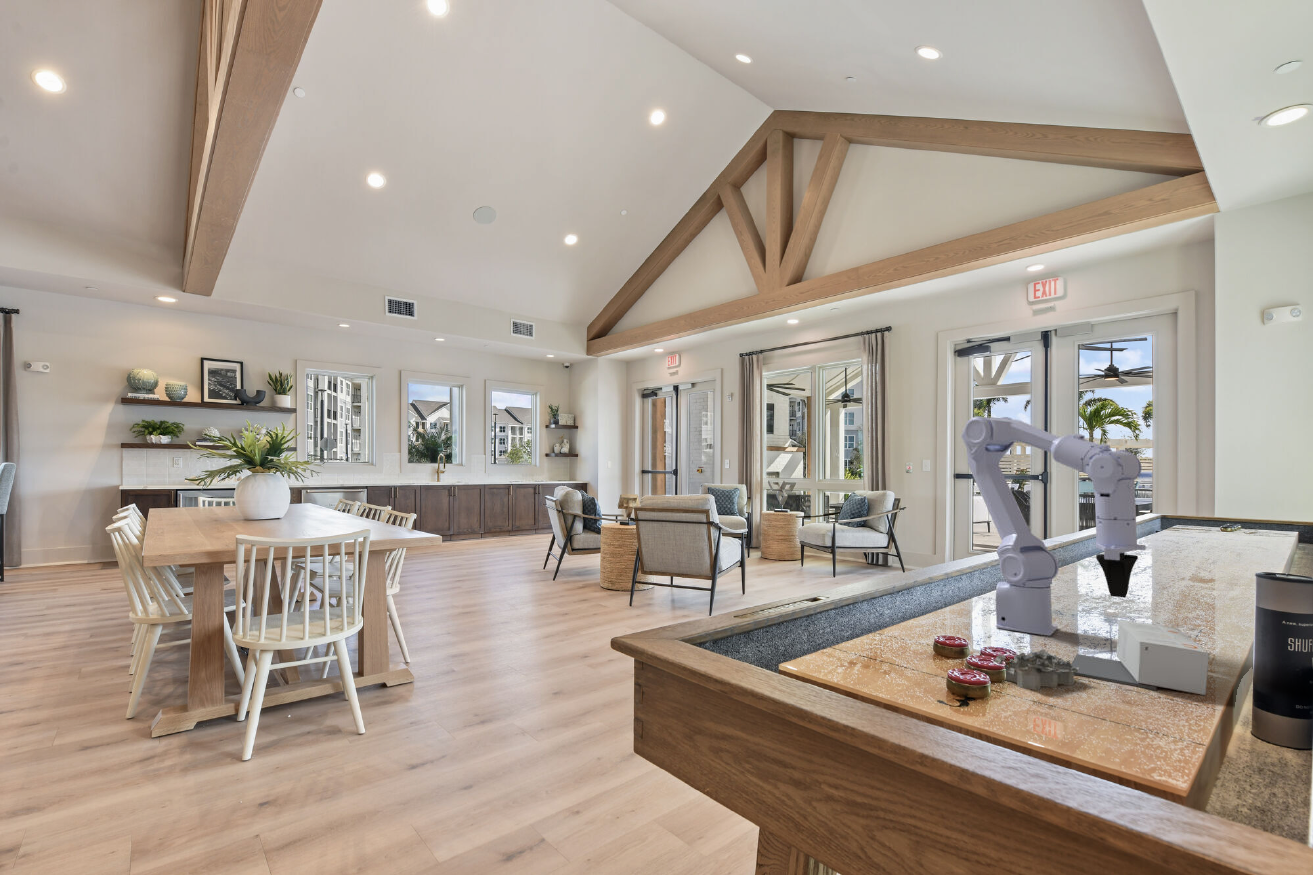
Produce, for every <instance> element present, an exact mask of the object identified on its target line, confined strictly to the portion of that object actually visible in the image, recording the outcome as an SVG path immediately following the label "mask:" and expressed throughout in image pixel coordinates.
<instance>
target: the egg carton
mask: <svg viewBox="0 0 1313 875" xmlns="http://www.w3.org/2000/svg"><path fill="white" fill-rule="evenodd" d="M1013 655H1014V656H1015V657H1014V660H1013V659H1010V658H1008V657H1007V658H1008V659H1010V668H1009V665H1005V666H1004V667H1005V669H1006V681H1007V682H1013V683H1016V684H1017V687H1018V688H1021V689H1031V690H1034V691H1035V690H1036V691H1037V690H1041V687H1049V688H1052V689H1053V688H1057V687H1058V684H1060V685H1061V684H1062V685H1067V686H1075V680H1074V677H1075V675H1074V672H1076V673H1078V671H1077V670H1078V669H1080V668H1079V666H1077V667H1076V668H1075V667H1073V666H1072V665H1071V662H1070V661H1069V660H1067V661H1066V660H1064V659H1063V658H1061V657H1058V656H1057V655H1056V654H1054V655H1052V654H1051V653H1049V652H1048V651H1046V650H1045V649H1041V650H1039V651H1035V652H1032V653H1029V652H1028V653H1027V654H1026V653H1024V652H1021V653H1019V654H1013ZM1005 656H1006V655H1005V654H1004V655H1002V654H998V655H997V656H996V658H995V659H994V661H993V662H994V663H995V662H996V663H995V664H997V663H999V665H1000V664H1002V661H1003V660H1005V659H1006V657H1005Z"/></svg>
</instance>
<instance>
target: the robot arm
mask: <svg viewBox="0 0 1313 875" xmlns="http://www.w3.org/2000/svg"><path fill="white" fill-rule="evenodd" d="M1085 438H1086V436H1085V435H1084V434H1081V433H1074V434H1066V435H1063V436H1061V437H1060V436H1057V435H1055V434H1053V433H1050V432H1047V431H1046V430H1043V429H1041V428H1038V427H1036V426H1033V425H1031V424H1029V423H1026V422H1024V421H1022V420H1020V419H1013V418H1011V417H1007V416H1004V417H1003V416H1002V417H986V416H985V417H982V416H974V417H973V416H972V418H971V417H970V419H969V420H967V421H966V424H965V425H964V428H963V431H962V433H961V439H962V440H963V443H964V444H965V445H964V446H965V447H966V452H967V453H966V454H967V456H966V457H967V465H968V467H969V470H970V473H971V474H972V477H973V479H974V481H975V483H976V486H977V487H978V490H979V492H980V495H981V497H982V499H983V502H984V504H985V506H986V508H987V510H988V512H989V515H990V516H991V519H992V522H993V523H994V527H995V528H996V531H997V533H998V535H999V537H1000V539H1001V543H1000V544H999V546H997V548H996V554H997V556H998V559H999V571H1000V574H1002V577H1003V578H1004V579H1005V580H1006V581H998V582H997V584H996V587H995V612H996V613H995V614H996V617H995V618H996V625H995V628H997V629H1002V630H1008V631H1009V630H1010V631H1013V632H1014V631H1016V632H1022V633H1029V634H1034V635H1035V634H1036V635H1042V636H1052V635H1053V634H1054V632H1056V630H1058V625H1057V624H1053V616H1052V615H1053V614H1052V610H1053V609H1052V589H1051V587H1052V584H1053V579H1054V578H1056V577H1057V575H1058V573H1059V562H1058V560H1057V558H1056V556H1055V555H1054V554H1053V553H1052V552H1051V551H1049V550H1048V548H1047V547H1046V545H1045V543H1044V541H1043V540H1041V539H1040V538H1039V537H1037V536H1035V535H1034V534H1033V533H1031V531H1030V528H1029V526H1028V524H1027V522H1026V520H1025V518H1024V516H1023V514H1022V512H1021V509H1020V507H1019V505H1018V503H1017V501H1016V499H1015V496H1014V494H1013V492H1012V490H1011V487H1010V486H1009V484H1008V482H1007V480H1006V478H1005V476H1004V473H1003V471H1002V469H1001V467H1000V463H1001V460H1002V459H1003V458H1004V456H1006V455H1007V453H1008V452H1009V450H1010V449H1011V448H1012V447H1013V446H1014V444H1015V443H1016V442H1017V443H1018V442H1019V443H1022V444H1025V445H1028V446H1030V447H1033V448H1037V449H1040V450H1042V451H1045V452H1049V453H1051V454H1052V458H1053V460H1054V461H1055V462H1056V463H1058V464H1061V465H1063V466H1066V467H1067V468H1071V469H1074V470H1076V471H1078V472H1080V473H1083V474H1086V475H1087V477H1088V478H1089V479H1090V480H1091V481H1092V484H1093V485H1092V486H1093V490H1094V505H1095V533H1096V536H1095V538H1096V542H1095V544H1094V546H1095V548H1097V549H1099V550H1101V551H1103V552H1104V553H1098V554H1096V556H1095V558H1096V561H1097V563H1098V564H1099V565H1100V568H1101V569H1102V572H1103V574H1104V577H1105V581H1106V585H1107V589H1108V591H1109V595H1110V596H1111V597H1117V598H1124V599H1125V598H1126V597H1127V595H1128V591H1129V584H1130V581H1131V580H1130V579H1131V575H1132V571H1133V569H1134V566H1135V564H1136V562H1137V561H1138V559H1139V556H1138V555H1135V554H1125V553H1127V552H1128V553H1129V552H1134V551H1138V550H1139V551H1146V547H1147V546H1146V544H1138V540H1137V539H1138V537H1137V536H1138V535H1137V512H1136V511H1137V510H1136V508H1137V506H1136V489H1135V488H1136V485H1135V481H1136V480H1137V479H1138V478H1139V477H1140V475H1141V473H1142V463H1141V461H1140V458H1138V456H1136V455H1135V454H1134V453H1132V452H1130V451H1129V450H1128V449H1118V450H1112V449H1111V445H1109V444H1106V443H1100V444H1099V443H1096V442H1094V441H1091V440H1087V439H1085Z"/></svg>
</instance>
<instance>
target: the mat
mask: <svg viewBox="0 0 1313 875" xmlns="http://www.w3.org/2000/svg"><path fill="white" fill-rule="evenodd" d="M1070 664H1071V665H1072V666H1073V667H1075V668H1076V667H1077V666H1079V668H1080V669H1078V670H1077V671H1078V673H1076V672H1074V676H1078V677H1079V676H1080V677H1085V678H1091V679H1094V680H1095V679H1096V680H1101V681H1106V682H1112V683H1116V684H1123V685H1126V686H1127V685H1128V686H1133V687H1139V688H1142V689H1144V688H1145V689H1149V690H1153V691H1154V690H1155V691H1157V687H1158V686H1152V685H1147V684H1142V683H1138V682H1137V681H1136V679H1135V678H1134V677H1133V676H1132V675H1131V673H1130V672H1129V671H1128V670H1127V668H1126V667H1125V666H1124V665H1123V664H1122V662H1121V661H1120V660H1114V659H1108V658H1104V657H1097V656H1091V655H1085V654H1078V653H1077V654H1076V655H1075V657H1074V658H1073V660H1072V662H1070Z"/></svg>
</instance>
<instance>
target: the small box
mask: <svg viewBox="0 0 1313 875" xmlns="http://www.w3.org/2000/svg"><path fill="white" fill-rule="evenodd" d="M1116 658H1117V659H1118V661H1121V662H1122V664H1123V665H1124V666H1125V667H1126V668H1127V670H1128V671H1129V672H1130V673H1131V675H1132V676H1133V677H1134V678H1135V679H1136V681H1137V682H1138V683H1142V684H1147V685H1152V686H1157V687H1158V688H1164V689H1169V690H1175V691H1180V692H1184V693H1185V692H1186V693H1190V694H1197V695H1201V696H1206V694H1207V692H1206V691H1207V682H1208V671H1209V670H1208V669H1209V660H1210V659H1209V658H1210V653H1209V652H1208V651H1206V650H1205V649H1203V648H1202V647H1201V646H1200V645H1199V644H1198V643H1196V642H1195V641H1194V640H1193V639H1192V638H1190V637H1189V636H1188V635H1187V634H1185V633H1184V632H1183V631H1182V630H1180V629H1179V628H1174V627H1169V626H1164V625H1163V626H1162V625H1156V624H1151V623H1149V624H1148V623H1142V622H1135V621H1130V620H1124V619H1118V631H1117V646H1116Z"/></svg>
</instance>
